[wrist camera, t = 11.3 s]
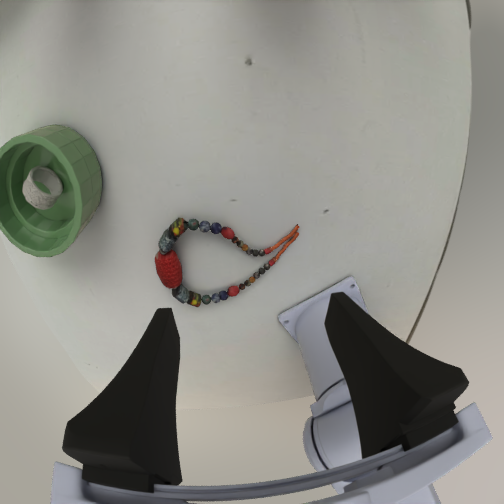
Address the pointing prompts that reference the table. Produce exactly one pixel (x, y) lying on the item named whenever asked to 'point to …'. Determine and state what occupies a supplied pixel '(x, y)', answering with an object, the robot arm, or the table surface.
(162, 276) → the necklace
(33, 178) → the ring
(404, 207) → the table surface
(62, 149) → the bowl
